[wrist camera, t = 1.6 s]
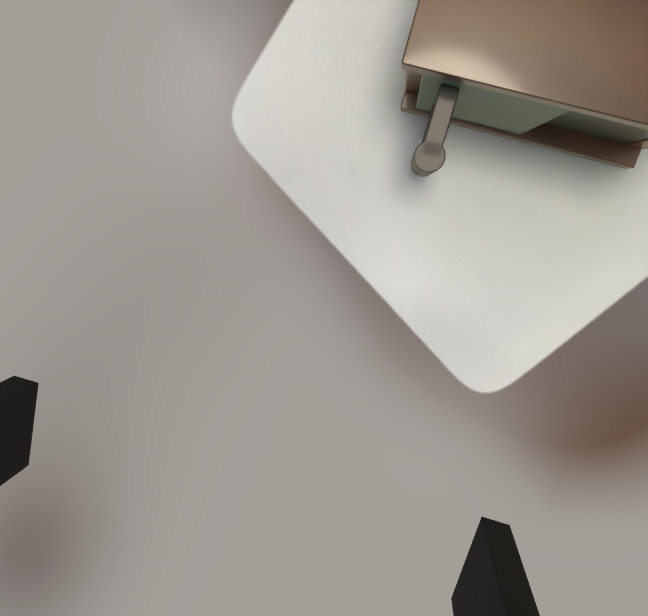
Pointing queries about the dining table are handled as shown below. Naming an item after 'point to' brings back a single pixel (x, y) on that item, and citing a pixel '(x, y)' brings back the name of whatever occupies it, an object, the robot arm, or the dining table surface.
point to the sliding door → (470, 116)
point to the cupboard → (544, 66)
